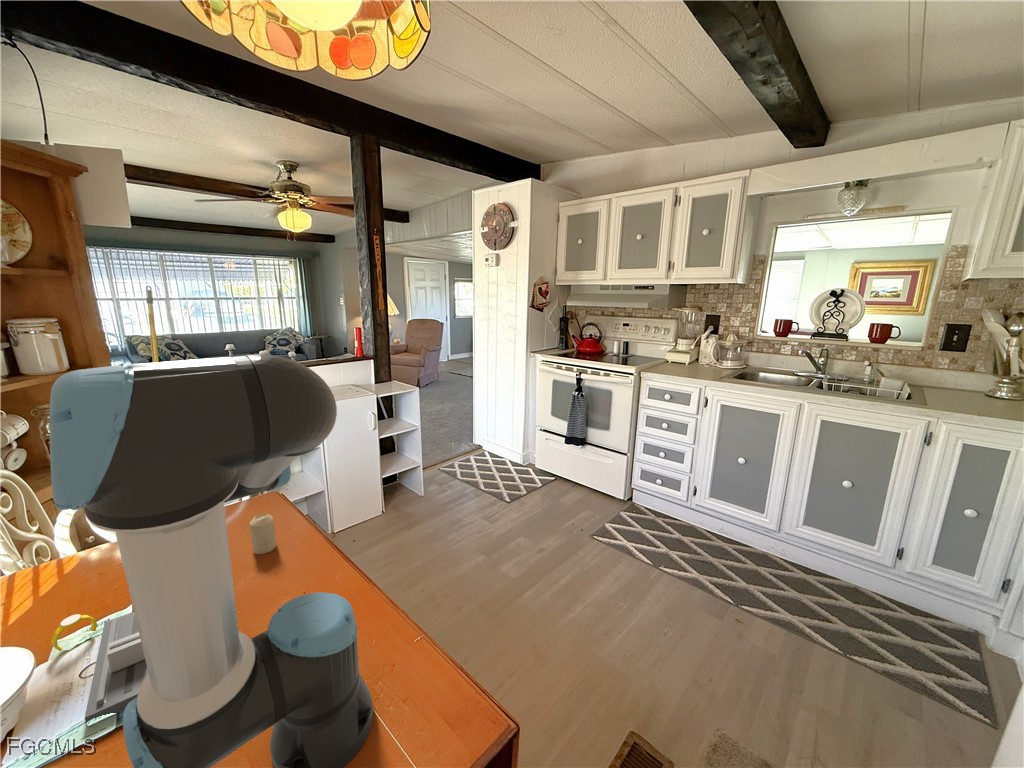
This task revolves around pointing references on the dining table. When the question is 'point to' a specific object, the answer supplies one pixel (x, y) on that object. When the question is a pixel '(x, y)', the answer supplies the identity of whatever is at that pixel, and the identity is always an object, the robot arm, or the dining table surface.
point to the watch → (71, 622)
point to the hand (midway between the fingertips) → (185, 628)
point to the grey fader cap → (125, 652)
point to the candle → (262, 533)
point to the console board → (120, 685)
